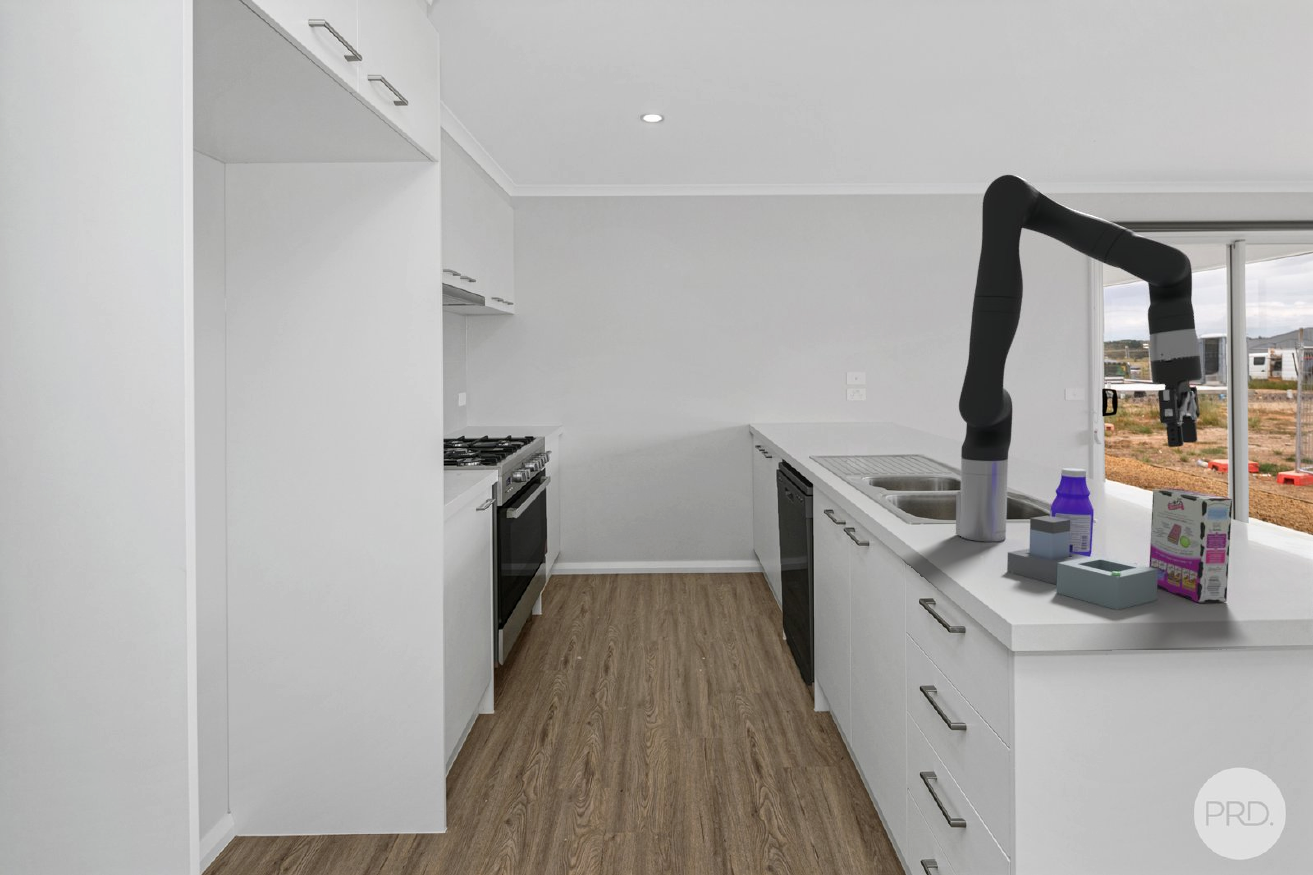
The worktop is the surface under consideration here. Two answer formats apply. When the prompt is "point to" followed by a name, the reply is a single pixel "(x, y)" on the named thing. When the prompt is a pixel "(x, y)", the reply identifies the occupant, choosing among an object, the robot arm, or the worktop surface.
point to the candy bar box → (1191, 543)
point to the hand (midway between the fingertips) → (1183, 444)
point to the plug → (1049, 537)
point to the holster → (1036, 565)
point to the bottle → (1075, 509)
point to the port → (1107, 581)
